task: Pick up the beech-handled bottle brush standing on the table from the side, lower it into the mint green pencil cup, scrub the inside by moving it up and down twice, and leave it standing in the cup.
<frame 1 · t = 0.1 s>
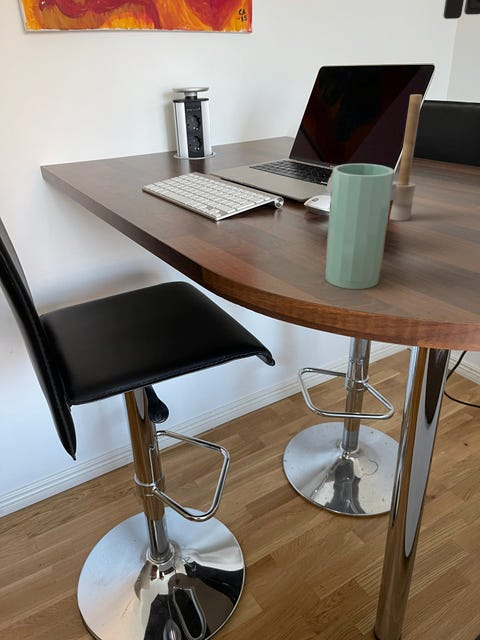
hand: (461, 16, 64), 30 cm above the table, tool pointing down, fingers open, 8 cm apart
mint green pencil cup: (351, 278, 66), on the table
brush: (398, 217, 89), on the table
food container: (346, 245, 77), on the table
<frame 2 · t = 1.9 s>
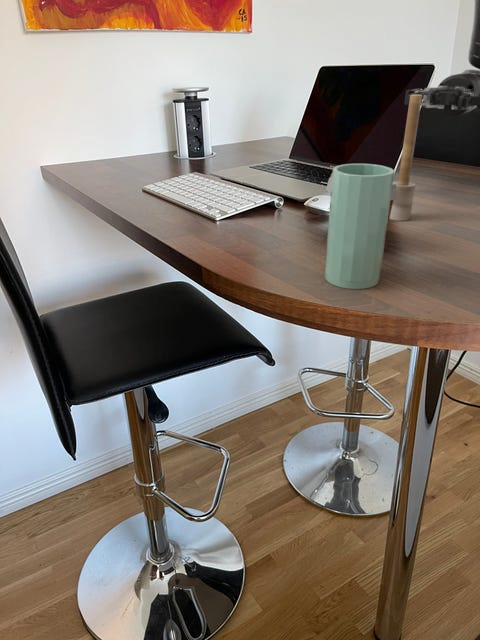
hand: (435, 101, 88), 18 cm above the table, tool horizontal, fingers open, 8 cm apart
nothing on the table moved.
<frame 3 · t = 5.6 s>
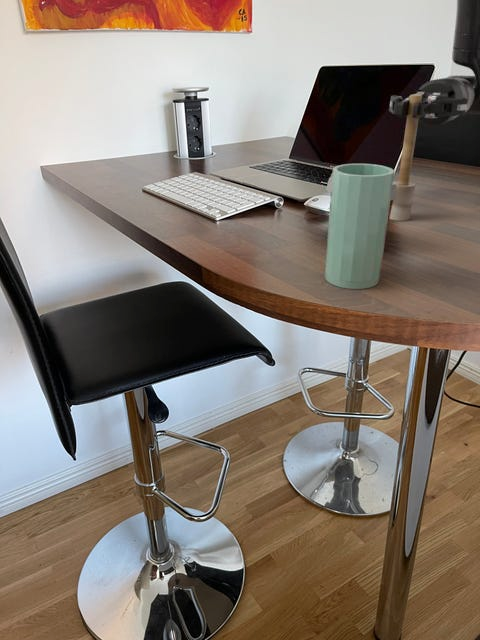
hand: (407, 110, 78), 18 cm above the table, tool horizontal, fingers closed on brush, 2 cm apart
brush: (398, 217, 89), on the table, touching gripper
everything else where it was.
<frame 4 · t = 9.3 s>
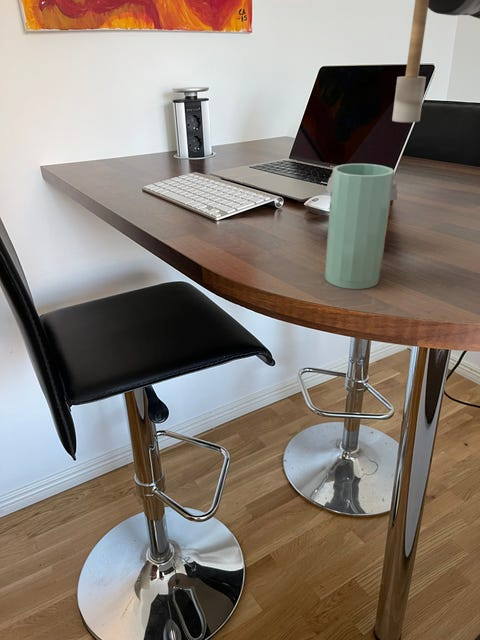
brush: (405, 120, 76), point 17 cm above the table, touching gripper
everything else where it was.
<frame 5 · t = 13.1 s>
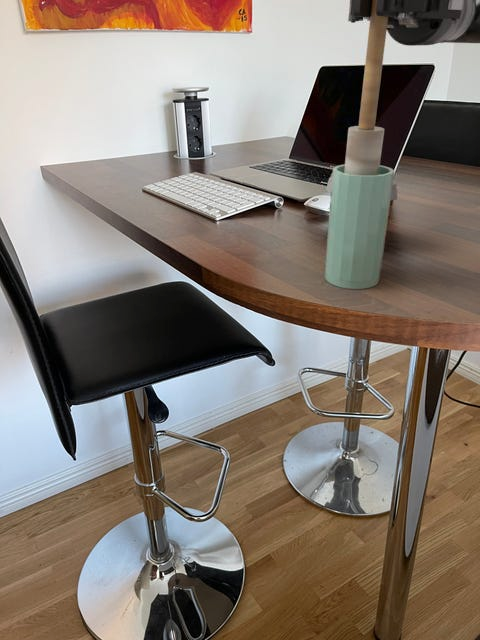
hand: (369, 2, 49), 31 cm above the table, tool horizontal, fingers closed on brush
brush: (360, 181, 60), point 13 cm above the table, touching gripper
everything else where it was.
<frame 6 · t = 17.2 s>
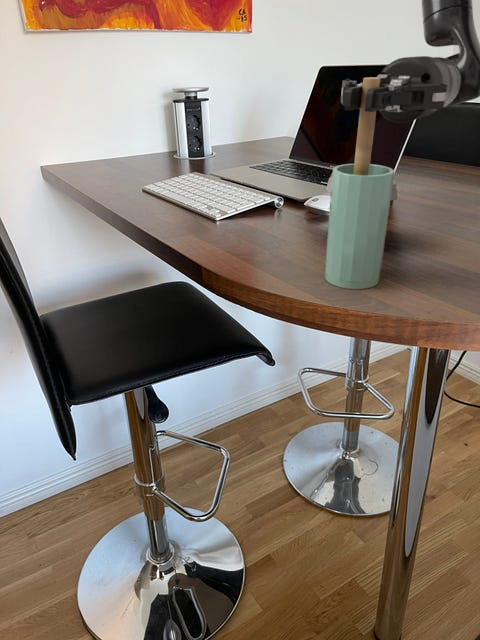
hand: (358, 100, 53), 22 cm above the table, tool horizontal, fingers closed on brush
brush: (352, 249, 64), point 4 cm above the table, touching gripper
everything else where it was.
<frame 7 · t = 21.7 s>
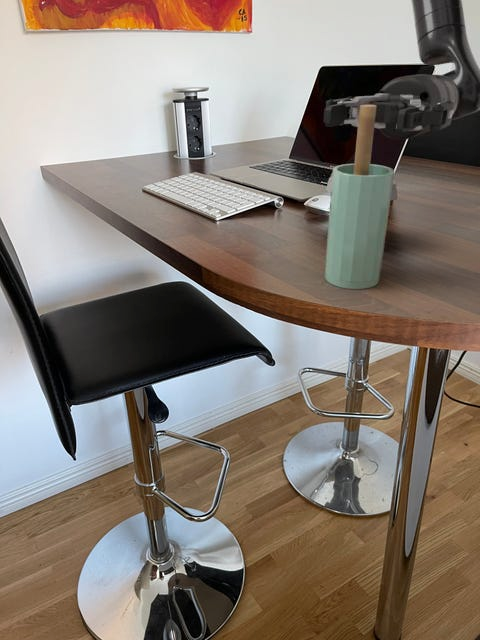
hand: (362, 119, 55), 20 cm above the table, tool horizontal, fingers open, 8 cm apart
brush: (350, 270, 65), point 1 cm above the table, touching mint green pencil cup
everything else where it was.
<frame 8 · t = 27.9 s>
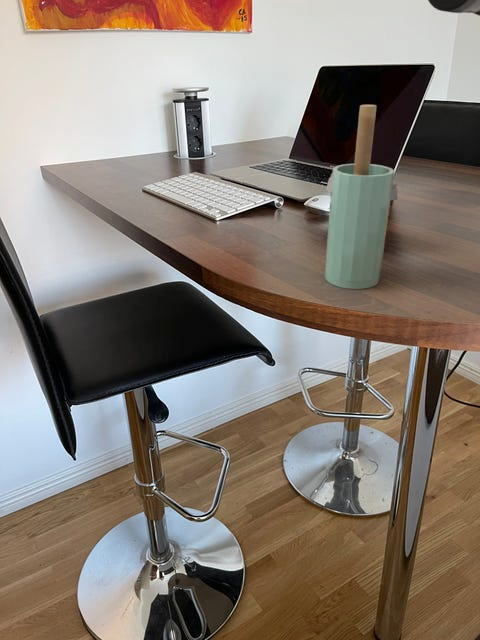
nothing on the table moved.
at the end: brush 0.3 cm off-centre in the mint green pencil cup, point 1.0 cm above the mint green pencil cup's base; the gripper is holding nothing; brush moved 29.5 cm from its start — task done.
